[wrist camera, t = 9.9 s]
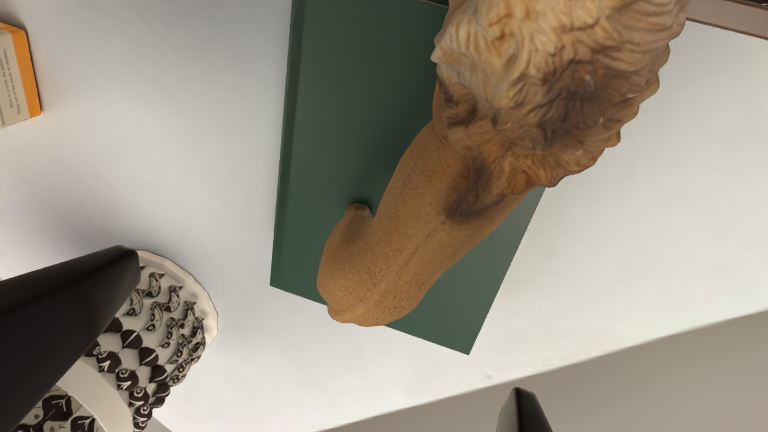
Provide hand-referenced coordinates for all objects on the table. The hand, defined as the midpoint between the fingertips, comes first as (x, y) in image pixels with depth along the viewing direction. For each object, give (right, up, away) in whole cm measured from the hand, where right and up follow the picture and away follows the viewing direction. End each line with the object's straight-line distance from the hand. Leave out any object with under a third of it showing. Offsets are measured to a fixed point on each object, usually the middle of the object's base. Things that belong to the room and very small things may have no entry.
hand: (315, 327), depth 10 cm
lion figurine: (+4, +6, +6) cm, 9 cm away
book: (+3, +5, +10) cm, 12 cm away
